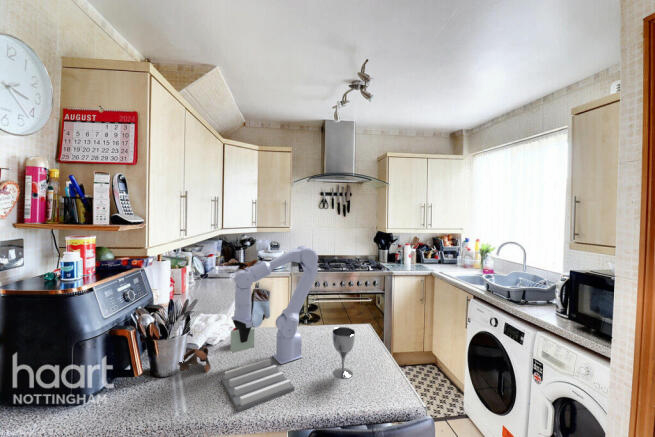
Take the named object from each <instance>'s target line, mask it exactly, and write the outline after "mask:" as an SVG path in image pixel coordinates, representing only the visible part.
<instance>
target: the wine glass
mask: <svg viewBox="0 0 655 437" xmlns="http://www.w3.org/2000/svg"><path fill="white" fill-rule="evenodd" d="M331 335H332V343H333V347H334V349H335V351H336V352H337V353H338V354H339V356H340V359H341V367H338V368H335V369H334V370H333V371H332V374H333V376H334V377H335V378H337V379H340V380H348V379H350V378H352V377H353V376H354V375H353V373H354V372H353V371H352V370H351V369H349V368H347V367H345V360H346V357H347V355H348V354H349V353H351V351H352V349H353V348H354V346H355V340H356V331H355V329H353V328H351V327H346V326H340V327H334V329H333V330H332V334H331Z"/></svg>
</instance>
